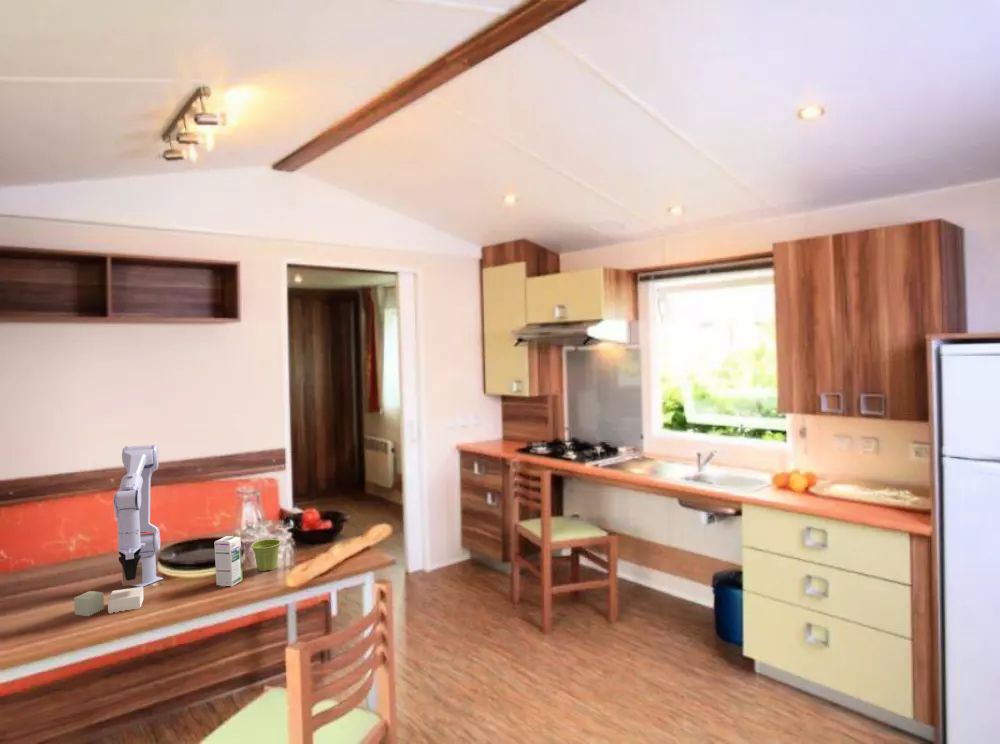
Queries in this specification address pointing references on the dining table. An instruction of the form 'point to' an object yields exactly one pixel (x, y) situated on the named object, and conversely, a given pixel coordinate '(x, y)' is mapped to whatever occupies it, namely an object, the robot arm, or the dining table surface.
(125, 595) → the base block
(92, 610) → the sage green block
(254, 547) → the plant pot
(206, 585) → the dining table surface
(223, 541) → the syrup box
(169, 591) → the dining table surface
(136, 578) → the walnut block
